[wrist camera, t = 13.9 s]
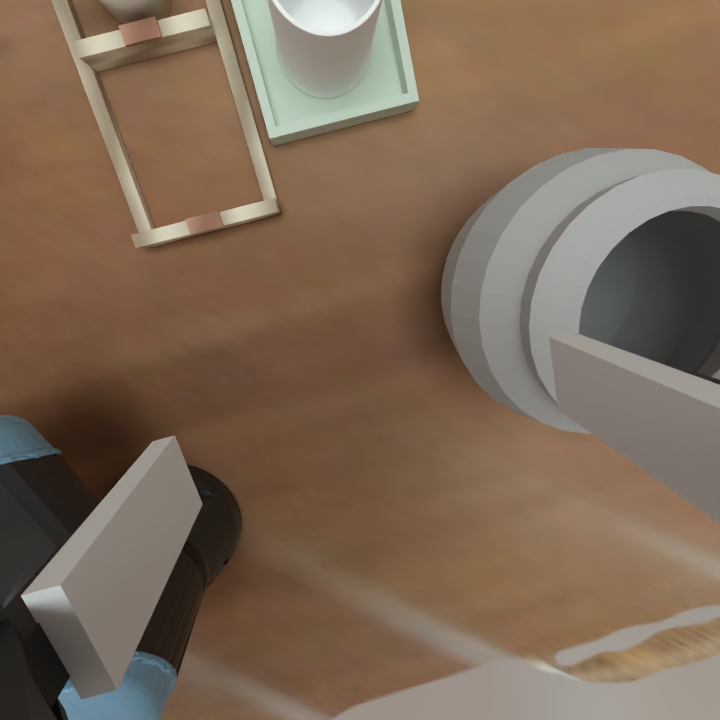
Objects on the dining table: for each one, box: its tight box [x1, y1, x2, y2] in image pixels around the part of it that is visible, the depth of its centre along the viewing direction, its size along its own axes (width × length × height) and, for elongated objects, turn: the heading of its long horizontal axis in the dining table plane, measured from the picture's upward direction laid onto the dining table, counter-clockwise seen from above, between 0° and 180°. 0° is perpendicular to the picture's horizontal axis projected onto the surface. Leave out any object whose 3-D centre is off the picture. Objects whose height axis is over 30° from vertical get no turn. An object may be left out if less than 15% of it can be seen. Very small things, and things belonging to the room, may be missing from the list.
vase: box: [441, 148, 720, 434], centre depth 34 cm, size 20×20×24 cm
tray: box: [231, 0, 419, 146], centre depth 37 cm, size 14×17×3 cm
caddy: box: [52, 0, 281, 248], centre depth 38 cm, size 13×25×3 cm, turn 14°
